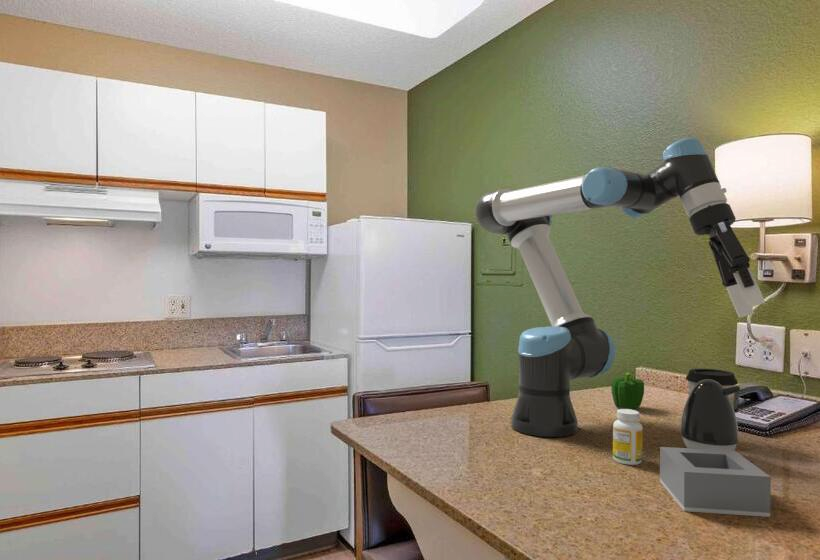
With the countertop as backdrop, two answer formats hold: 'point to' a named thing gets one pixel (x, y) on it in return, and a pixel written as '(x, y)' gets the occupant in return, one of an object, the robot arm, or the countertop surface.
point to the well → (715, 481)
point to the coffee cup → (712, 378)
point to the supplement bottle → (627, 437)
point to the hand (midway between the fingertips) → (751, 310)
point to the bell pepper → (627, 392)
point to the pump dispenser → (710, 417)
